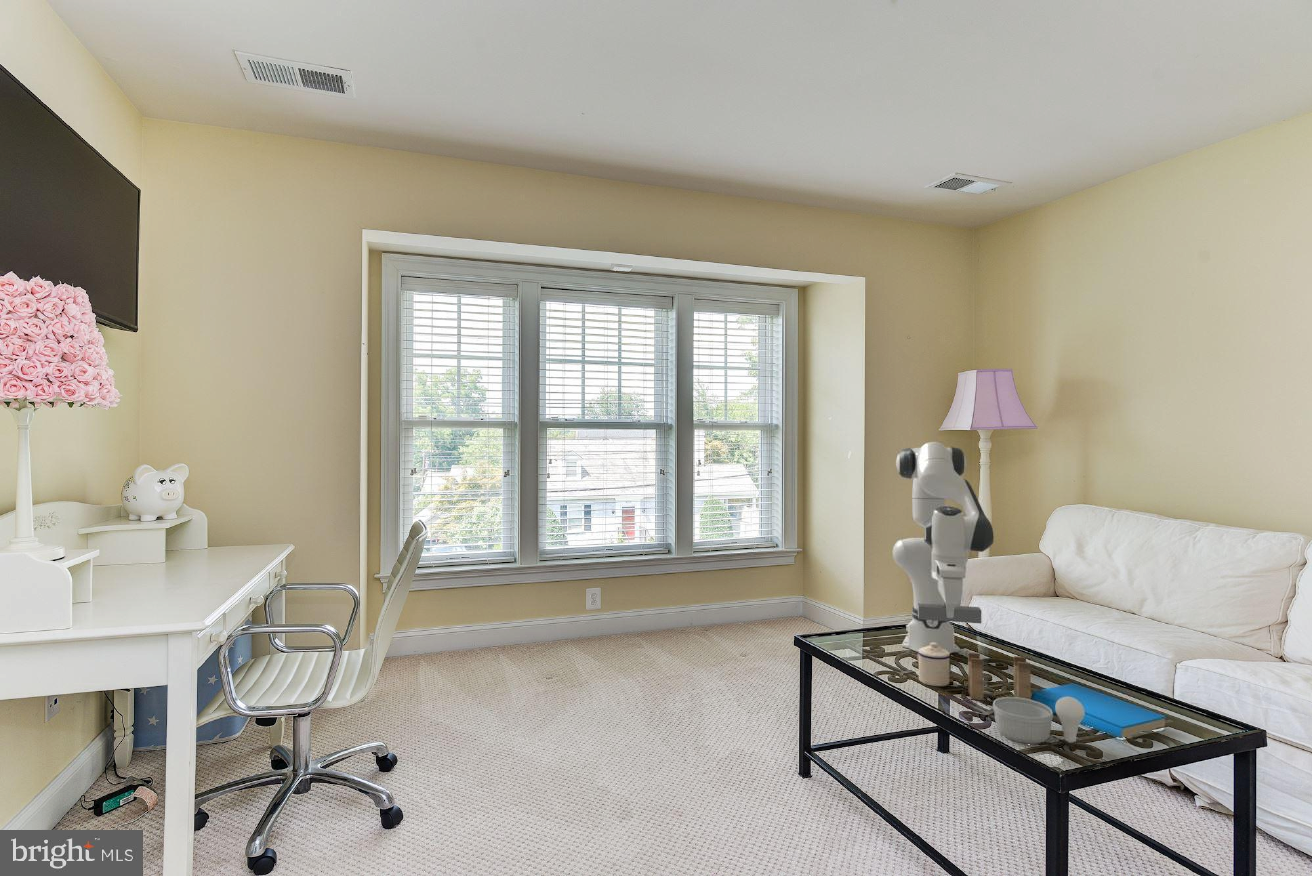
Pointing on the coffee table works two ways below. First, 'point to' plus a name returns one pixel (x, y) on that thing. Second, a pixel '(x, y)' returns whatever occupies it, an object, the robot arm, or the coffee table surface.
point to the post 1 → (975, 676)
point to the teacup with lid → (933, 665)
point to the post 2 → (1022, 678)
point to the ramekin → (1022, 719)
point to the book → (1103, 710)
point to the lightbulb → (1069, 716)
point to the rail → (939, 613)
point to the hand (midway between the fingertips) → (948, 614)
